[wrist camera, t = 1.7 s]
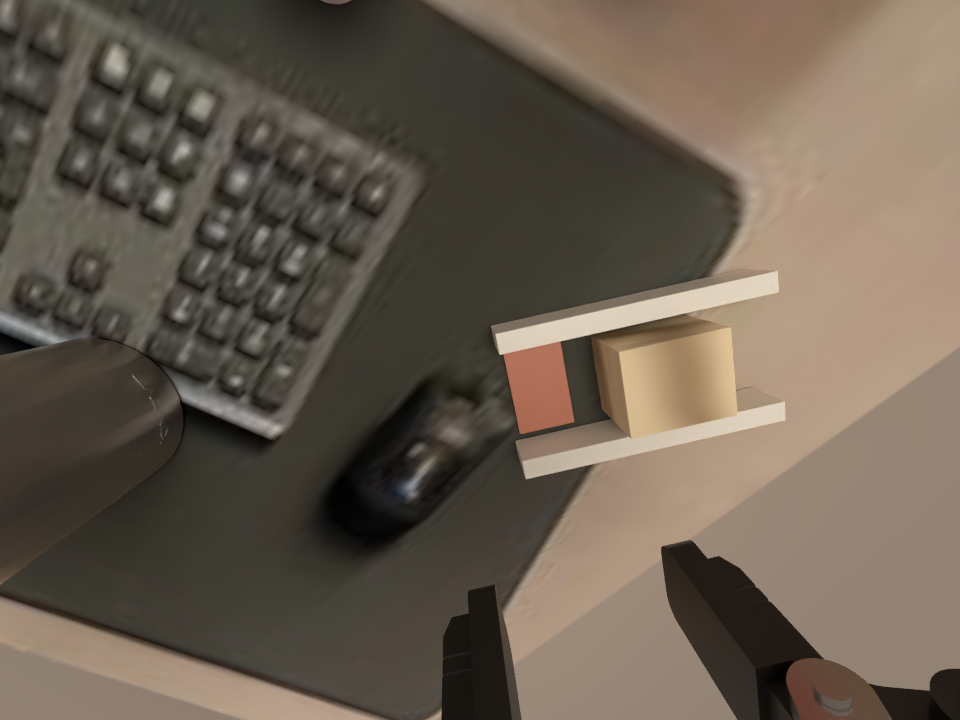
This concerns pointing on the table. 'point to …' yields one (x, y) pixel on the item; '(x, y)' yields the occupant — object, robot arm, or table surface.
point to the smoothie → (336, 1)
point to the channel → (538, 337)
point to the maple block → (665, 374)
